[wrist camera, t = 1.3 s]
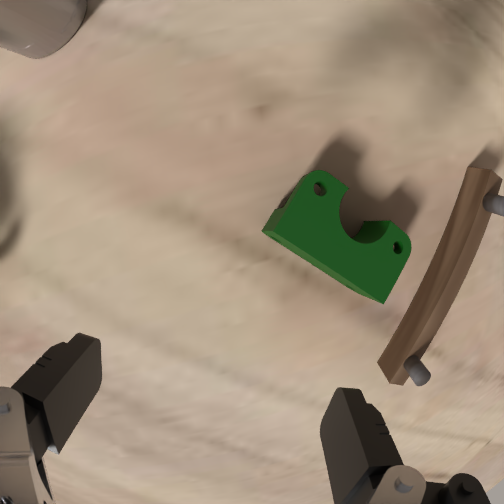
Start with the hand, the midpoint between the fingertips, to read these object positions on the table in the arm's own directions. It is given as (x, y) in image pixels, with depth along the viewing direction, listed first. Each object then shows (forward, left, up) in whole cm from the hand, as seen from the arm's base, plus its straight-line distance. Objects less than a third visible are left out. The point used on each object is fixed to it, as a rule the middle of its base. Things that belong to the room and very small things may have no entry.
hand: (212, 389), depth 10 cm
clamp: (+8, +4, -20) cm, 22 cm away
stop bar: (+21, +4, -20) cm, 29 cm away
